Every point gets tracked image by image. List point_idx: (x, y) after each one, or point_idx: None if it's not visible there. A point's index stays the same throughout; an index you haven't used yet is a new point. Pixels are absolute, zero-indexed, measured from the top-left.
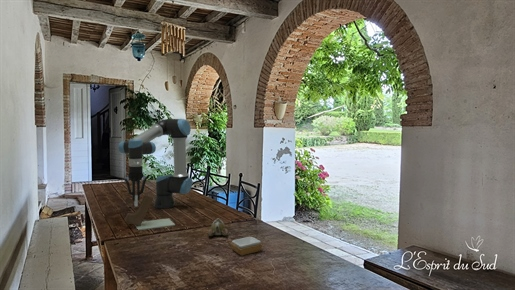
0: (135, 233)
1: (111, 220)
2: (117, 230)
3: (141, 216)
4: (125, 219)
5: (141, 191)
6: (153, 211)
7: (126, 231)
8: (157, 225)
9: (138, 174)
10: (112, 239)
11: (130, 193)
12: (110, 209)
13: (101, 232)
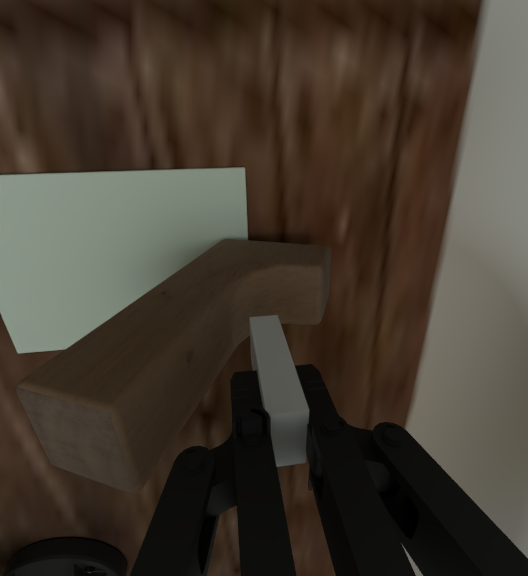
0: (269, 95)
1: (349, 415)
2: (361, 226)
3: (212, 262)
4: (330, 270)
5: (199, 487)
6: (129, 504)
7: (317, 179)
8: (97, 210)
9: None
10: (438, 14)
11: (397, 436)
12: (320, 554)
13: (446, 224)
